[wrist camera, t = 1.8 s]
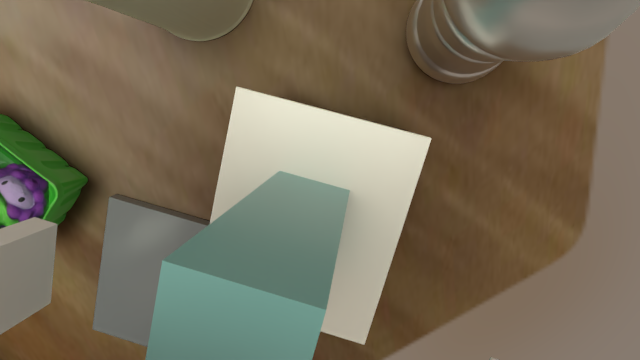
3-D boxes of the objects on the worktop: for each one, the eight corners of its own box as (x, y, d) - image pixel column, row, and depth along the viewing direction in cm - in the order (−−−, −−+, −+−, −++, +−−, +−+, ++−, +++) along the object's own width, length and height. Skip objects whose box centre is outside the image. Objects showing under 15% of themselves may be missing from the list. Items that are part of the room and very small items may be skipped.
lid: (364, 323, 24) (361, 621, 10) (210, 276, 25) (12, 495, 11) (424, 134, 21) (534, 193, 7) (249, 88, 22) (46, 61, 8)
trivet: (210, 357, 34) (205, 365, 33) (100, 322, 35) (92, 329, 34) (237, 229, 31) (233, 233, 30) (117, 194, 32) (109, 196, 31)
